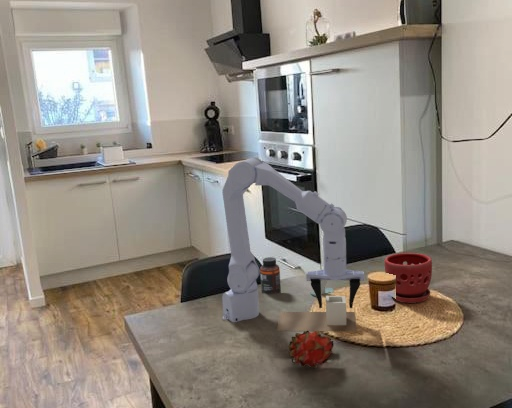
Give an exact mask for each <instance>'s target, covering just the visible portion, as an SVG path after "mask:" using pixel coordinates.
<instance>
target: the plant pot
mask: <svg viewBox="0 0 512 408" xmlns="http://www.w3.org/2000/svg"><path fill="white" fill-rule="evenodd" d="M404 263H406V264H404ZM384 272H385V274H386V273H389V274H393V275H396V300H395V301H397V302H399V301H400V302H399V303H405V304H407V303H409V304H413V303H416V302H417V303H421V301H422V302H424V301H427V300H428V299H429V297H430V296H431V291H430V289H429V286H430V284H431V280H432V275H433V274H432V273H433V262H432V258H431V257H430V256H428V255H427V254H421V253H416V252H415V253H413V252H402V253H395V254H391V255H388V256H386V257H385V259H384Z"/></svg>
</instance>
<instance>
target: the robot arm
mask: <svg viewBox="0 0 512 408" xmlns="http://www.w3.org/2000/svg"><path fill="white" fill-rule="evenodd" d="M227 174H228V175H227V177H226V180H225V183H224V185H223V188H222V199H223V205H224V206H223V207H224V213H225V214H224V215H225V220H226V228H227V233H228V242H229V248H230V254H231V255H230V256H231V257H230V259H229V263H228V275H227V278H226V279H227V285H228V287H229V288H230V289H229V290H228V291H225V292H224V293H223V294H222V297H221V299H222V315H223V316H222V320H224V321H225V320H229V321H230V322H232V323H237V322H240V321H245V320H251V319H255V318H257V317H258V316H259V315H260V308H259V307H260V304H259V290H258V289H259V287H258V285H259V284H258V283H257V279H258V278H259V276H260V268H259V265H258V263H257V262H256V260H255V258H256V257H255V255H254V253H252V251H251V244H250V237H249V232H248V231H249V230H248V229H249V228H248V223H247V214H246V210H245V209H246V208H245V200H244V194H245V193H246V192H247V191H248V190H249V188H250V187H251V186H252V185H253V184H255V186H268V187H271V188H273V189H274V190H276V192H279V193H280V194H282V195H283V196H285V197H287V198H288V199H290V200H291V201H292V202H294V203H295V206H296V210H298V211H299V212H300V213H302V214H303V215H305V216H306V217H308V218H309V219H310V220H312V221H313V222H314V223H316V224H319V227H320V229H321V231H322V232H323V233H322V234H323V238H322V252H323V253H322V254H323V256H322V257H323V261H322V262H323V270H322V269H319V270H313V271H306V274H305V275H306V277H305V278H306V280H305V281H306V282H310V286H311V288H312V290H313V292H315V293H314V294H315V295H316V296H315V297H316V299H317V302H318V307H319V309H322V308H323V299H322V298H323V297H322V294H321V280H326V281H349V297H348V298H349V299H348V301H349V302H348V305H349V309H353V307H354V306H353V305H354V300H355V297H356V295H357V293H358V290H359V289H360V285H361V282H365V272H364V270H360V271H359V270H353V269H352V270H350V269H347V239H346V228H345V227H346V224H347V221H348V216H347V214H346V212H345V211H344V210H343V208H341V207H340V206H335V204H334V203H329V202H327V201H326V200H324V199H323V198H321V197H320V196H319V195H320V193H319V192H317V191H311V190H302V189H300V187H298V186H297V185H296V184H294V183H293V182H291V181H290V180H289V179H287V178H286V177H285V176H283V175H282V174H281V173H279V171H277V170H275V168H274V167H272V166H271V165H270V164H268V163H266V162H265V161H264V162H263V160H261V159H260V158H258V157H254V156H252V157H249V158H247V159H244V160H242V161H238V162H236V163H235V164H234V165H233V166H232V167H231V168H230V169H228V172H227Z"/></svg>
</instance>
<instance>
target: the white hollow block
mask: <svg viewBox="0 0 512 408" xmlns="http://www.w3.org/2000/svg"><path fill="white" fill-rule="evenodd" d="M335 301H336V302H335ZM325 312H326V324H327V325H346V312H347V300H346V295H325Z"/></svg>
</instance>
